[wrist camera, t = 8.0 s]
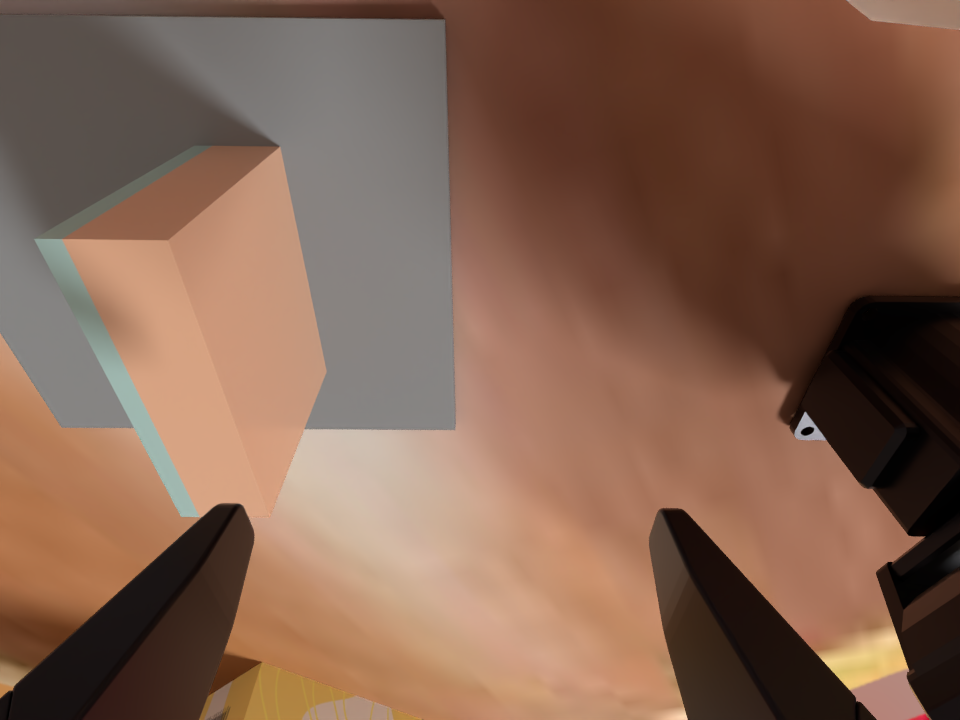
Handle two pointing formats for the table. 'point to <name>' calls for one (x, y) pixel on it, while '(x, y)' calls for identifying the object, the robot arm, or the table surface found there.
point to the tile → (200, 319)
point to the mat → (243, 122)
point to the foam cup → (912, 12)
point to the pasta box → (290, 700)
